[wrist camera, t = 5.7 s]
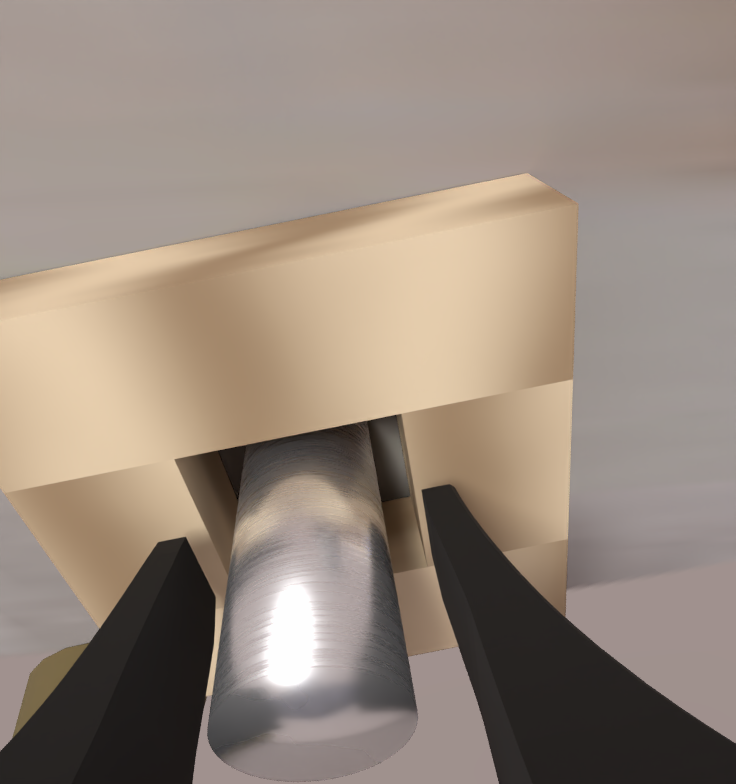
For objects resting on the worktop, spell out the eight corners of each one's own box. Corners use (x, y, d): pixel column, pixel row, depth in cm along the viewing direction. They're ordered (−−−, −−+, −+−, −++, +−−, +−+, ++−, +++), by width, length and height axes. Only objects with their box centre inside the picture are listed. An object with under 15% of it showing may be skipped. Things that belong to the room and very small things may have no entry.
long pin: (366, 381, 14) (419, 656, 8) (370, 478, 16) (416, 767, 10) (238, 392, 14) (187, 682, 8) (256, 489, 16) (226, 792, 9)
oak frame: (527, 173, 12) (578, 204, 10) (533, 555, 18) (564, 625, 16) (-30, 285, 12) (-104, 341, 10) (171, 627, 18) (154, 706, 16)
